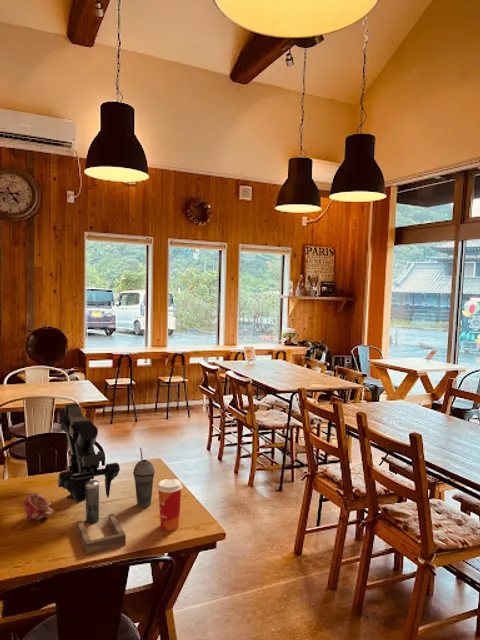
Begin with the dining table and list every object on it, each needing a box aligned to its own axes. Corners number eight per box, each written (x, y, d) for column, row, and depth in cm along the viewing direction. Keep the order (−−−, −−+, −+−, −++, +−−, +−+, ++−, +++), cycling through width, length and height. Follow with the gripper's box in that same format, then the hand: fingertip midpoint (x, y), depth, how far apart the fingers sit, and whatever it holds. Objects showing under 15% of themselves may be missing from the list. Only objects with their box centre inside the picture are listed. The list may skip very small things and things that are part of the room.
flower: (15, 523, 146) (31, 502, 146) (14, 505, 154) (29, 485, 154) (43, 533, 151) (59, 512, 151) (40, 514, 159) (55, 495, 159)
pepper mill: (83, 522, 151) (82, 483, 150) (92, 516, 154) (91, 479, 153) (92, 525, 149) (92, 486, 148) (101, 519, 153) (101, 481, 152)
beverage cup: (150, 511, 159) (149, 452, 157) (129, 508, 160) (129, 450, 159) (158, 501, 166) (158, 445, 164) (138, 499, 167) (138, 443, 166)
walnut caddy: (76, 530, 145) (76, 521, 145) (113, 522, 151) (113, 513, 151) (86, 554, 133) (86, 544, 133) (125, 544, 138) (125, 534, 138)
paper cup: (158, 520, 152) (158, 478, 151) (182, 520, 153) (182, 477, 152) (156, 533, 145) (156, 488, 144) (181, 532, 145) (181, 488, 144)
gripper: (58, 447, 149) (64, 495, 140) (118, 438, 158) (127, 483, 149) (55, 463, 156) (60, 510, 147) (112, 454, 165) (121, 497, 156)
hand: (93, 500), depth 150 cm, fingers open, 9 cm apart
